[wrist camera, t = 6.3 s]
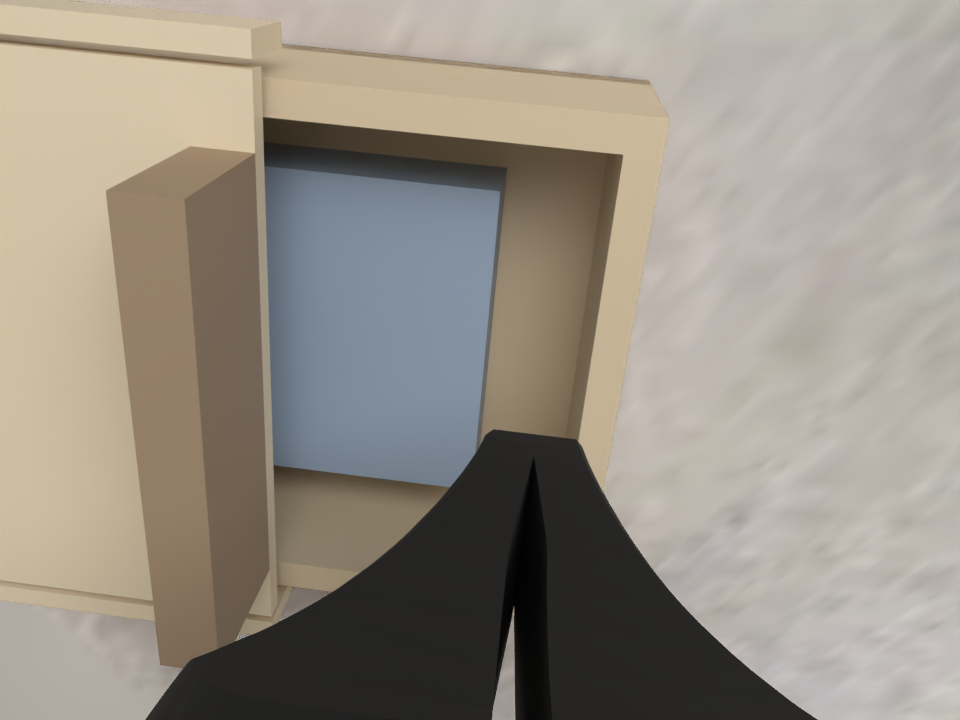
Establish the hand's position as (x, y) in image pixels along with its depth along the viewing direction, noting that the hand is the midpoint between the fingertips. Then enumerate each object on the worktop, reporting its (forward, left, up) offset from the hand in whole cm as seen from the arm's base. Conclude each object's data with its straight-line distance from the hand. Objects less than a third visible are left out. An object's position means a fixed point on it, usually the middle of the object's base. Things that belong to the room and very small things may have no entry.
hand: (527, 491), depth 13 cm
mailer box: (0, +6, -7) cm, 9 cm away
